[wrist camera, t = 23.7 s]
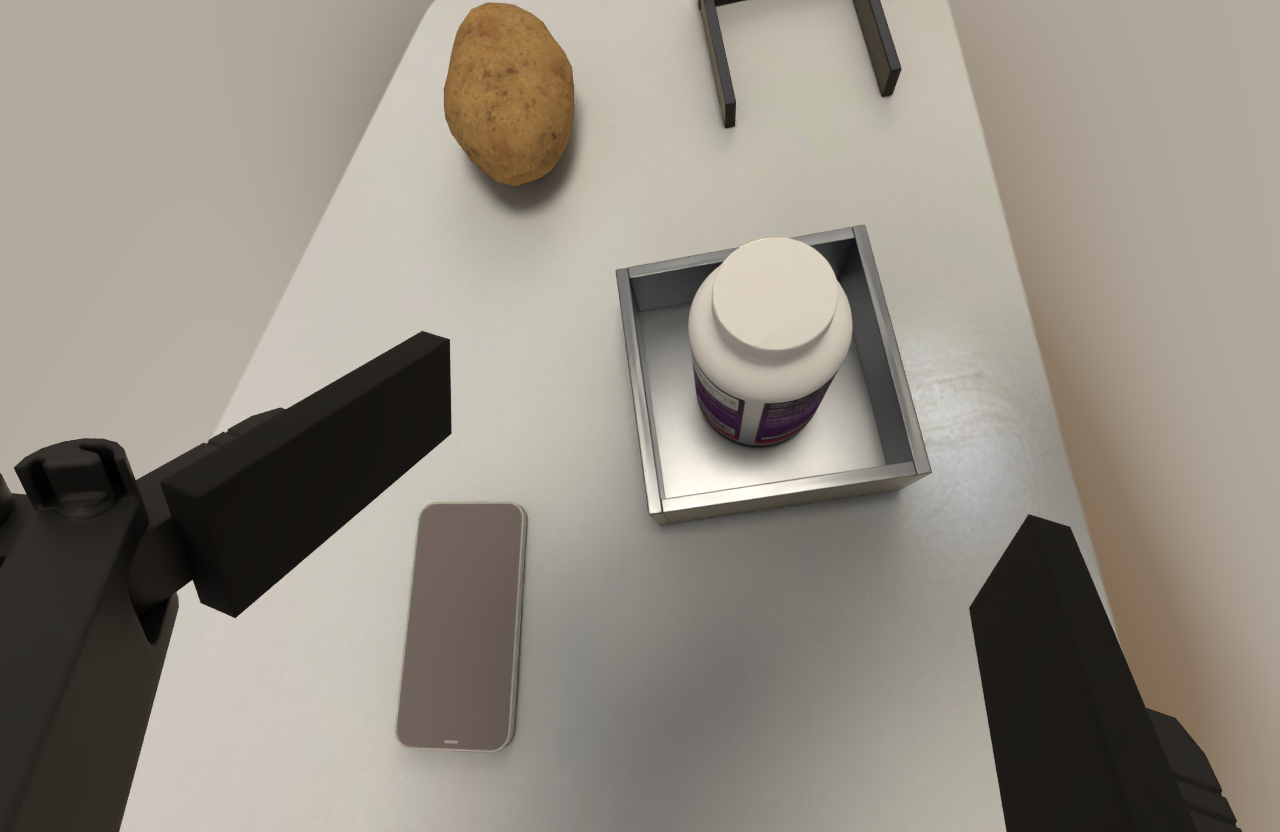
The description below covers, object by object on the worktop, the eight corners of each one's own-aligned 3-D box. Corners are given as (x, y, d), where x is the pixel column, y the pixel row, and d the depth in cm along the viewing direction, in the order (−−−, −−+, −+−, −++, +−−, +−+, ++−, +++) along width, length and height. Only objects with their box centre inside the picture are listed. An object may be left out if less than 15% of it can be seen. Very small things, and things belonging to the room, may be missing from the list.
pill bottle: (825, 342, 41) (881, 220, 27) (810, 458, 39) (861, 390, 26) (706, 326, 43) (701, 201, 29) (685, 438, 41) (669, 362, 27)
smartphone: (525, 501, 41) (509, 753, 37) (529, 503, 42) (514, 749, 38) (419, 502, 42) (392, 748, 38) (425, 504, 43) (399, 744, 38)
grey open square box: (845, 271, 44) (865, 224, 38) (900, 489, 39) (932, 472, 33) (628, 310, 45) (615, 269, 39) (658, 525, 40) (648, 515, 35)
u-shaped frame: (855, -33, 50) (866, -83, 47) (893, 94, 47) (909, 51, 43) (697, 1, 51) (695, -46, 48) (723, 128, 48) (724, 88, 44)
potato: (473, 228, 48) (427, 160, 41) (465, 83, 52) (421, -3, 44) (595, 205, 47) (572, 132, 40) (578, 60, 51) (553, -32, 44)
